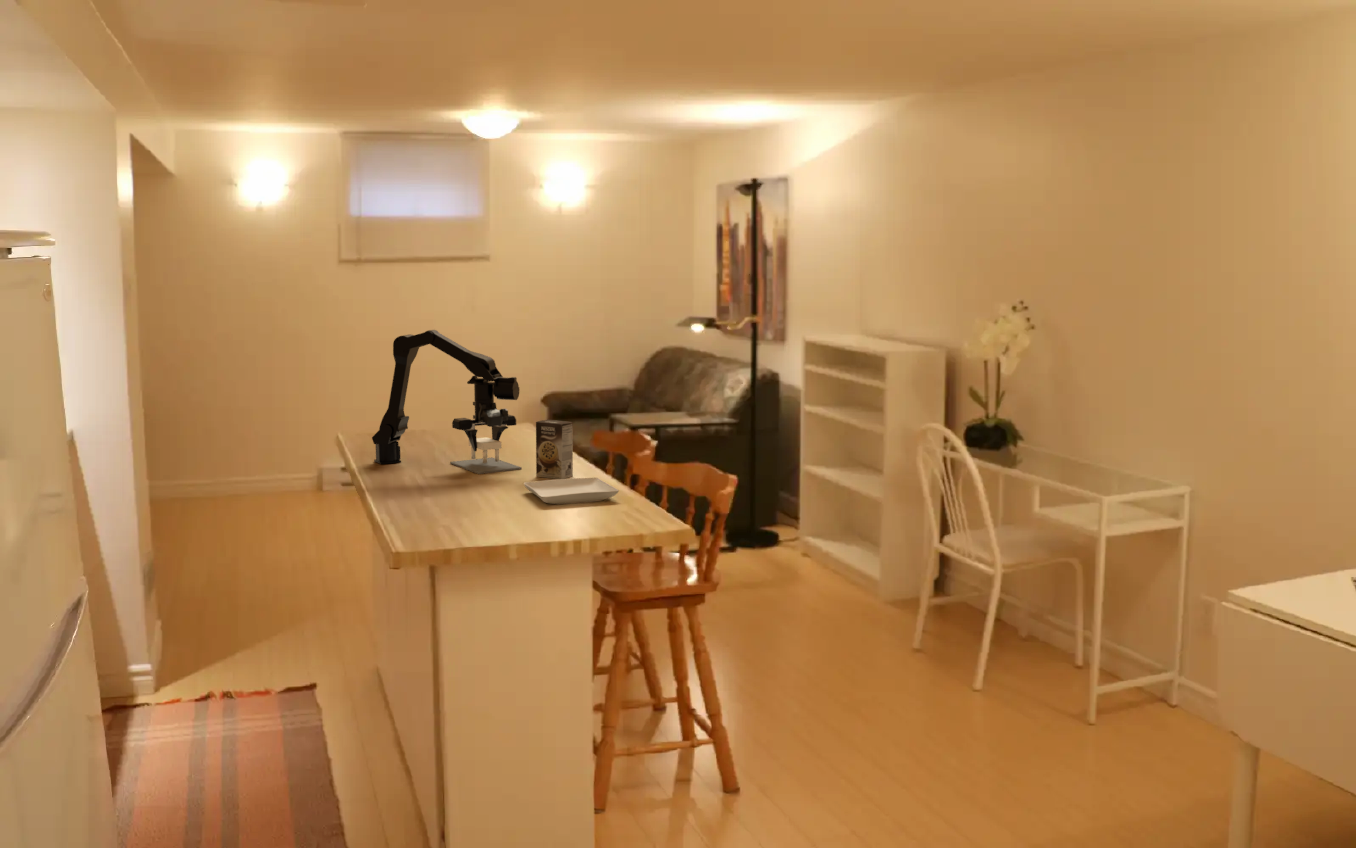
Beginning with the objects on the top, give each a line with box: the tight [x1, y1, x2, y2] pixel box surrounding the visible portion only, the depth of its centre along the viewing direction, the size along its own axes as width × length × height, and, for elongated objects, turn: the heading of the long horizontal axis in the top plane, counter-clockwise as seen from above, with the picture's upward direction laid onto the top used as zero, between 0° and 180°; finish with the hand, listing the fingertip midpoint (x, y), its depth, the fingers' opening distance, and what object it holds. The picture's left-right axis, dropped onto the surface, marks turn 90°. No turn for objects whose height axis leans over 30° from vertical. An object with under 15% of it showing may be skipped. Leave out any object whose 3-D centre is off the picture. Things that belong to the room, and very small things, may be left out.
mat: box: [449, 457, 522, 475], centre depth 361 cm, size 14×20×1 cm
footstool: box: [468, 436, 503, 463], centre depth 360 cm, size 10×6×6 cm, turn 35°
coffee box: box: [535, 419, 574, 480], centre depth 345 cm, size 9×6×16 cm
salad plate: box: [523, 476, 620, 505], centre depth 318 cm, size 21×21×3 cm
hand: (485, 450), depth 360 cm, fingers closed on footstool, 6 cm apart
